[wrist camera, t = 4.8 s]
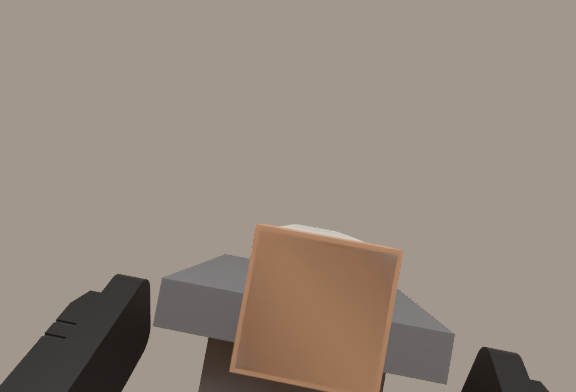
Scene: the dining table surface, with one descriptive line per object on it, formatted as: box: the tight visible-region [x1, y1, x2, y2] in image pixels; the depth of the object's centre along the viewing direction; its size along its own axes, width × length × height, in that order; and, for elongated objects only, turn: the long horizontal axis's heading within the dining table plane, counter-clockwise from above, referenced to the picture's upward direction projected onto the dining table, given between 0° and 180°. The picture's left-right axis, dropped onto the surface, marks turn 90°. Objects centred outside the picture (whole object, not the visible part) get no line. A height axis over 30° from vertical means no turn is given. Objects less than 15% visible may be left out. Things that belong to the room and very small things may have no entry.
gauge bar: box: [229, 224, 403, 392], centre depth 22 cm, size 24×3×3 cm, turn 177°
